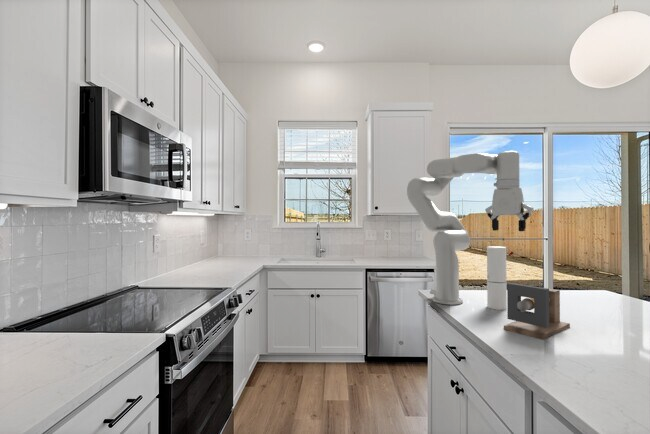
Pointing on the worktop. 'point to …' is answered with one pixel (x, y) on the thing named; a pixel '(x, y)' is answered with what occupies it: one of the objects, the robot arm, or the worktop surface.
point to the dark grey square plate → (540, 304)
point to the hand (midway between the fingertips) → (508, 230)
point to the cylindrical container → (496, 278)
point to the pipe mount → (538, 331)
